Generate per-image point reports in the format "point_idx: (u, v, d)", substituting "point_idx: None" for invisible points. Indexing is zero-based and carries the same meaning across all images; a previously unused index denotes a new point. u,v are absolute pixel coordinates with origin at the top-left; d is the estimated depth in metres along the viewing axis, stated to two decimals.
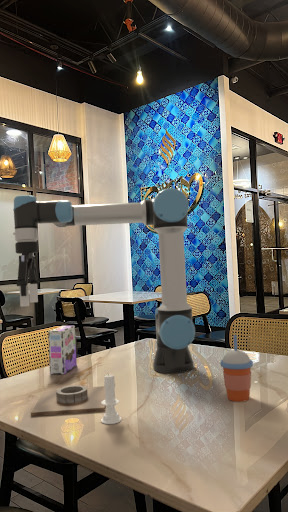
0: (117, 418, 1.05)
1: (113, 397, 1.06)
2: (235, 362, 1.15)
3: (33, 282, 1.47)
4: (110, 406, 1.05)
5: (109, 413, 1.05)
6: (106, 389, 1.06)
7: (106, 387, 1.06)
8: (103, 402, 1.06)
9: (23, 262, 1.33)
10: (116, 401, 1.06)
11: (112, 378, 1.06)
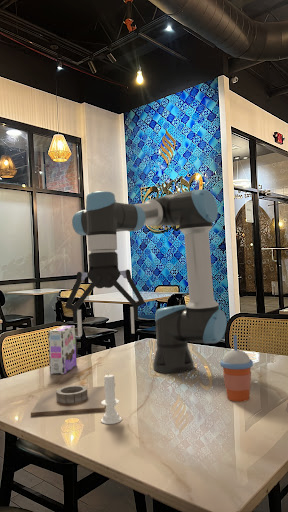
0: (117, 418, 1.05)
1: (113, 397, 1.06)
2: (235, 362, 1.15)
3: None
4: (110, 406, 1.05)
5: (109, 413, 1.05)
6: (106, 389, 1.06)
7: (106, 387, 1.06)
8: (103, 402, 1.06)
9: None
10: (116, 401, 1.06)
11: (112, 378, 1.06)
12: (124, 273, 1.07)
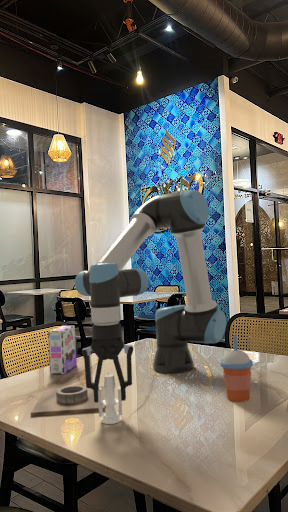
0: (117, 418, 1.05)
1: (113, 397, 1.06)
2: (235, 362, 1.15)
3: None
4: (110, 406, 1.05)
5: (109, 413, 1.05)
6: (106, 389, 1.06)
7: (106, 387, 1.06)
8: (103, 402, 1.06)
9: None
10: (116, 401, 1.06)
11: (112, 378, 1.06)
12: (127, 348, 1.07)
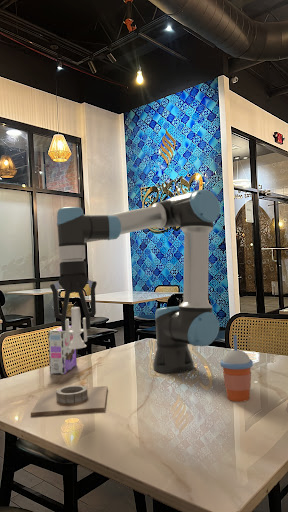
0: (82, 344, 1.19)
1: (79, 326, 1.19)
2: (235, 362, 1.15)
3: None
4: (76, 333, 1.18)
5: (75, 340, 1.19)
6: (72, 319, 1.19)
7: (72, 317, 1.19)
8: (70, 331, 1.19)
9: None
10: (82, 330, 1.20)
11: (78, 309, 1.19)
12: (91, 283, 1.20)
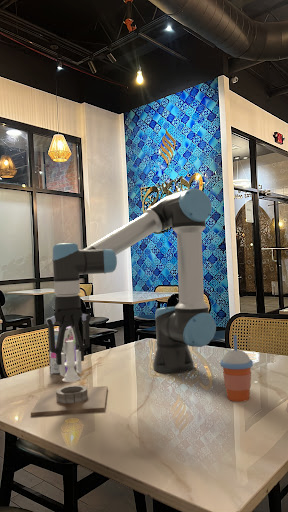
0: (77, 376, 1.23)
1: (74, 359, 1.23)
2: (235, 362, 1.15)
3: (79, 347, 1.24)
4: (72, 366, 1.22)
5: (71, 373, 1.22)
6: (68, 352, 1.22)
7: (68, 350, 1.22)
8: (65, 364, 1.22)
9: (49, 327, 1.20)
10: (76, 362, 1.23)
11: (73, 342, 1.23)
12: (85, 316, 1.25)
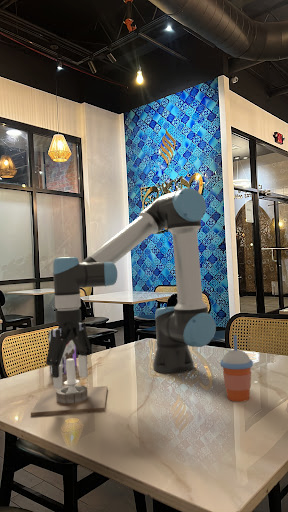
0: None
1: None
2: (235, 362, 1.15)
3: (83, 353, 1.29)
4: None
5: (74, 391, 1.22)
6: (71, 371, 1.22)
7: (71, 369, 1.22)
8: (69, 383, 1.21)
9: (54, 338, 1.17)
10: (75, 380, 1.24)
11: None
12: (80, 326, 1.28)
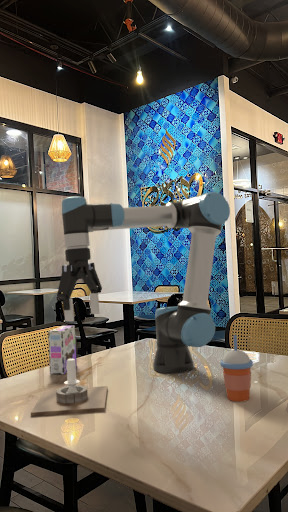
0: None
1: (75, 376, 1.23)
2: (235, 362, 1.15)
3: (94, 291, 1.33)
4: None
5: (74, 391, 1.22)
6: (72, 371, 1.22)
7: (72, 369, 1.22)
8: (69, 383, 1.21)
9: (65, 272, 1.20)
10: (76, 380, 1.24)
11: None
12: (89, 265, 1.31)
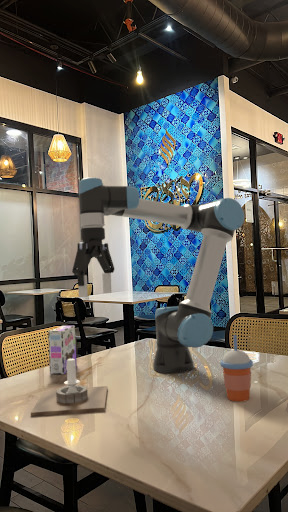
0: None
1: (75, 376, 1.23)
2: (235, 362, 1.15)
3: (107, 271, 1.37)
4: None
5: (74, 391, 1.22)
6: (72, 371, 1.22)
7: (72, 369, 1.22)
8: (69, 383, 1.21)
9: (81, 250, 1.25)
10: (76, 380, 1.24)
11: None
12: (103, 246, 1.36)
